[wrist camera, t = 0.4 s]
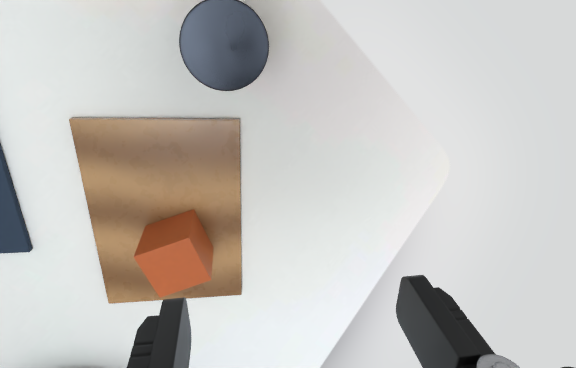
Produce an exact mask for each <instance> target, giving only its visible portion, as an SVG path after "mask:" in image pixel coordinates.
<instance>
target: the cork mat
mask: <svg viewBox="0 0 576 368" xmlns="http://www.w3.org/2000/svg"><path fill="white" fill-rule="evenodd" d="M69 121H70V126H71V130H72V135H73V139H74V144H75V149H76V153H77V158H78V163H79V167H80V172H81V177H82V181H83V186H84V190H85V195H86V200H87V204H88V209H89V214H90V218H91V223H92V228H93V232H94V237H95V242H96V246H97V251H98V255H99V260H100V265H101V269H102V274H103V279H104V283H105V288H106V293H107V297H108V302H109V303H123V302H138V301H153V300H164V299H173V298H183V297H185V298H199V297H214V296H229V295H241V200H240V119H207V118H71V119H69ZM192 209H194V211H195V213H196V215H197V217H198V219H199V221H200V222H201V224H202V226H203V228H204V230H205V232H206V234H207V236H208V238H209V240H210V242H211V244H212V246H213V263H212V278H211V280H210V281H207V282H204V283H201V284H199V285H196V286H193V287H190V288H187V289H184V290H181V291H178V292H176V293H173V294H170V295H167V296H164V297H161V298H160V297H159V296H158V294H157V293H156V291H155V290H154V288H153V286H152V285H151V283H150V282H149V280H148V279H147V277H146V276H145V274H144V273H143V271H142V269H141V268H140V266H139V265H138V263H137V262H136V260H135V259H134V254H135V252H136V249H137V246H138V244H139V241H140V239H141V236H142V233H143V231H144V228H145V226H146V225H149V224H152V223H155V222H158V221H161V220H164V219H167V218H169V217H172V216H175V215H178V214H181V213H184V212H187V211H190V210H192Z"/></svg>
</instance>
